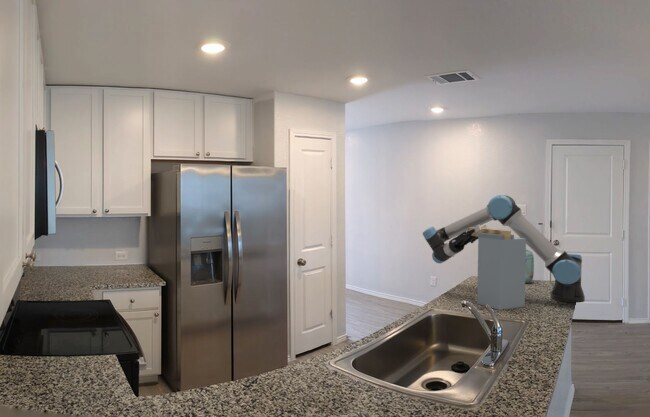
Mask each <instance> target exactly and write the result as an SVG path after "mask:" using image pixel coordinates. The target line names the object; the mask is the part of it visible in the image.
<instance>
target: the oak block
mask: <svg viewBox="0 0 650 417" xmlns="http://www.w3.org/2000/svg"><path fill="white" fill-rule="evenodd" d="M473 228H474V227H468V231H470V230H471V229H473ZM478 233H486V234H495V235H504V240H509V239H511V235H512V230H508V229H506V230H505V229H497V228H495V229H494V228H489V227H488V228H481V230H480V231H479V232H477V233H476V234H474V235H471V236H477V237H478Z"/></svg>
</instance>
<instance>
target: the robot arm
mask: <svg viewBox="0 0 650 417" xmlns="http://www.w3.org/2000/svg"><path fill="white" fill-rule="evenodd" d="M491 221H498V222H499V224H501V225H502V226H504V227H509V229H511V231H513V232H514V233H515V234H516V235H517V236H518V238H525V239H526V246H528V247H529V248H530V249H531V250H532V251H533V252H534V253H535V254H536V255H537V256H538V257H540V259H541V260H542V261H543V262H544V267H545V268H546V269H547V270H548V271H549V272H550V273H551V275H552V276H553V278H554V285H553V287H552V290H551V293H550V299H551V300H554V301H558V302H564V303H575V302H576V304H577V303H584V302H585V301H586V297H585V294H584V290H583V287H582V266H583V265H582V262H583V257H582V255H580V254H576V253H573V254H572V253H567V251H566V250H560V249H559V248H557V247H556V246H555V245H554V243H552V242H551V241H550V240H549V239H548V238H546V236H545V235H544V234H543V233H542V232H541V231H540V230H539V229H537V228H536V226H534V225H533V223H531V222H530V221H529V220H528V219H527V218H526V217H525V216H524V215H523V214H522V209H521V208H520V207H519V206H518V205H517V204H516V201H515V200H514V199H513V197H511V196H510V195H503V194H499V195H496V196H494V197H492V198H491V199H490V200H489V201H488V204H487V205H486V206H485V207H484V208H481V209H480V210H478V211H476V212H473V213H471V214H469V215H466V216H465V217H463V218H461V219H459V220H456V221H455V222H452V223H450V224H448V225H446V226H444V227H442V228H439V229H436V228H435V227H434V226H430V227H427V229H425V230H424V231H423V232H422V237H423V238H424V239H425V241H426V243H427V244H428V246H429V247H430V249H431V250H432V255H431V256H432V260H433V261H434V262H435V263H436V264H443V263H445V262H446V261H448V260H449V259H451V258H453V257H455V255H457V254H459V253H460V252H462V251H463V250H464V249H465V246H467V245H468V244H470V243H471V244H473V243H475V242H476V241H478V237H477V236H471V235H474V234H476V233H477V232H479V231H480V230H481V228H488V229H489V227H488V224H487V223H488V222H491ZM482 225H483V226H482ZM468 227H474V228H473V229H471V230H470V231H468ZM445 242H446V243H445Z"/></svg>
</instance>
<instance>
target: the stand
mask: <svg viewBox="0 0 650 417" xmlns="http://www.w3.org/2000/svg"><path fill="white" fill-rule="evenodd" d="M477 242H478V244H477V292H476V295H477V296H476V304H478V305H481V306H484V307H487V306H486V305H487V304H488V305H490V306H491V307H492V308H491V307H490V308H491V309H494V310H498V311H503V309H504V310H511V309H517V308H523V307H526V306H525V303H526V300H525V299H526V283H525V267H526V249H527V244H526V239H525V238H520V237H515V235H514V234H511V239H509V240H504V235H495V234H486V233H478V239H477Z"/></svg>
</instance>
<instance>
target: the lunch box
mask: <svg viewBox="0 0 650 417" xmlns="http://www.w3.org/2000/svg"><path fill="white" fill-rule="evenodd" d="M534 256H535V255H534V254H533V252H532V251H531V250H530V249H527V248H526V267H525V284H526V283H527V284H528V283H531V282H532V281H533V279H534V274H535V260H534V259H535V257H534Z"/></svg>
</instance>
